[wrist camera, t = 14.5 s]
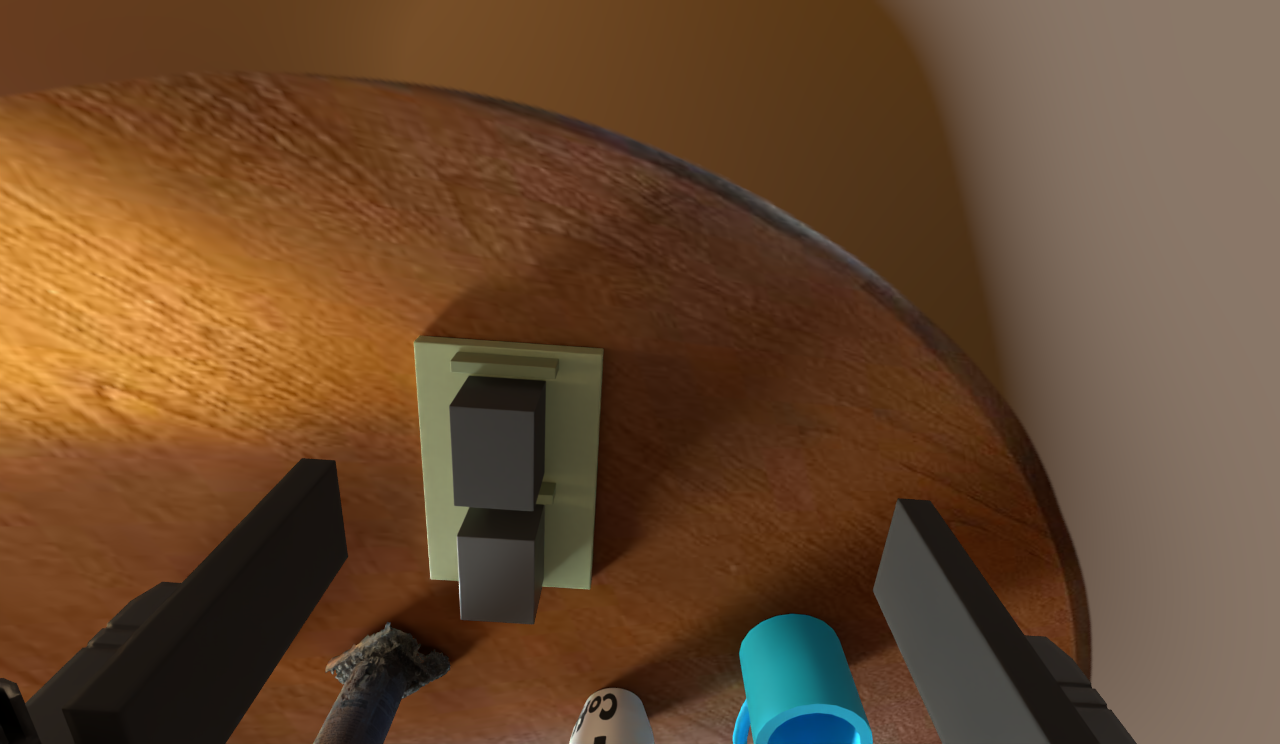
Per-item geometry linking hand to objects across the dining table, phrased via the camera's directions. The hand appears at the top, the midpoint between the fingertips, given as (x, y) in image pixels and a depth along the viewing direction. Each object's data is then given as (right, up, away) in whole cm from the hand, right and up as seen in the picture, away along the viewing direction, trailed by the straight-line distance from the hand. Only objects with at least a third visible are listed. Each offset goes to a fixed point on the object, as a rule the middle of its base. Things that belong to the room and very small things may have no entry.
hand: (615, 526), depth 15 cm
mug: (+12, -20, +38) cm, 44 cm away
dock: (-8, -3, +30) cm, 32 cm away
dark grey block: (-8, 0, +28) cm, 29 cm away
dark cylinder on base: (-20, -20, +38) cm, 48 cm away
